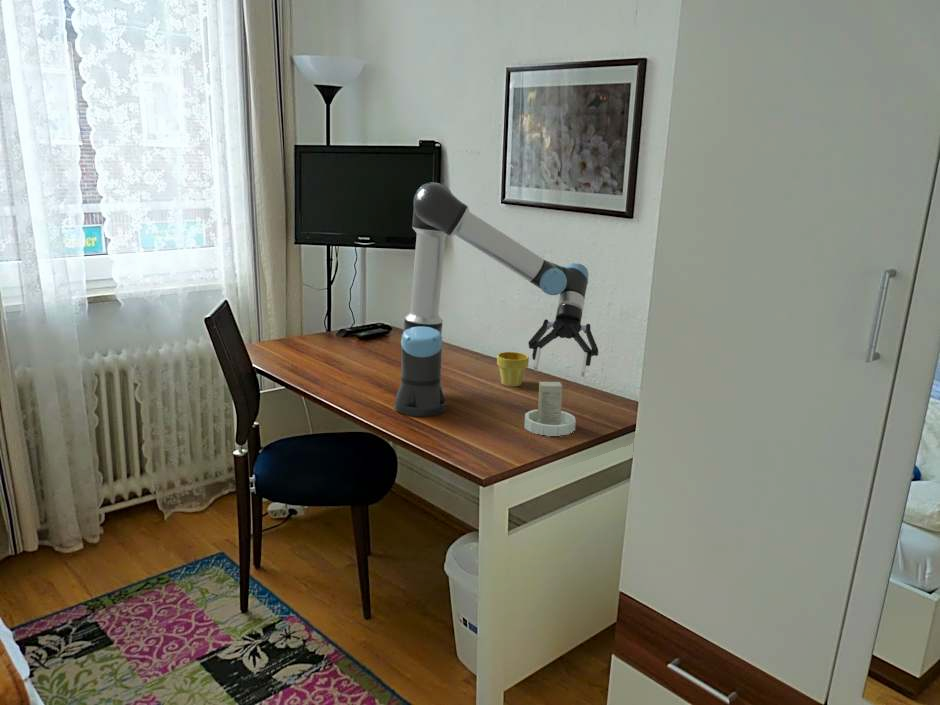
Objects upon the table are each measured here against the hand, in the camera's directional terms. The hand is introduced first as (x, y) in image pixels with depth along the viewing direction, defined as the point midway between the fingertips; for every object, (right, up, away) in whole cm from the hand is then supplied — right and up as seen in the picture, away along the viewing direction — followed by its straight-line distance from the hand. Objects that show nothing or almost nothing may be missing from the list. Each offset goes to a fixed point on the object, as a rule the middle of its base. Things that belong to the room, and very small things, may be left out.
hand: (558, 371), depth 210 cm
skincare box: (-3, -15, -3) cm, 16 cm away
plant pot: (-11, -5, +36) cm, 38 cm away
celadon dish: (-3, -15, -3) cm, 16 cm away
